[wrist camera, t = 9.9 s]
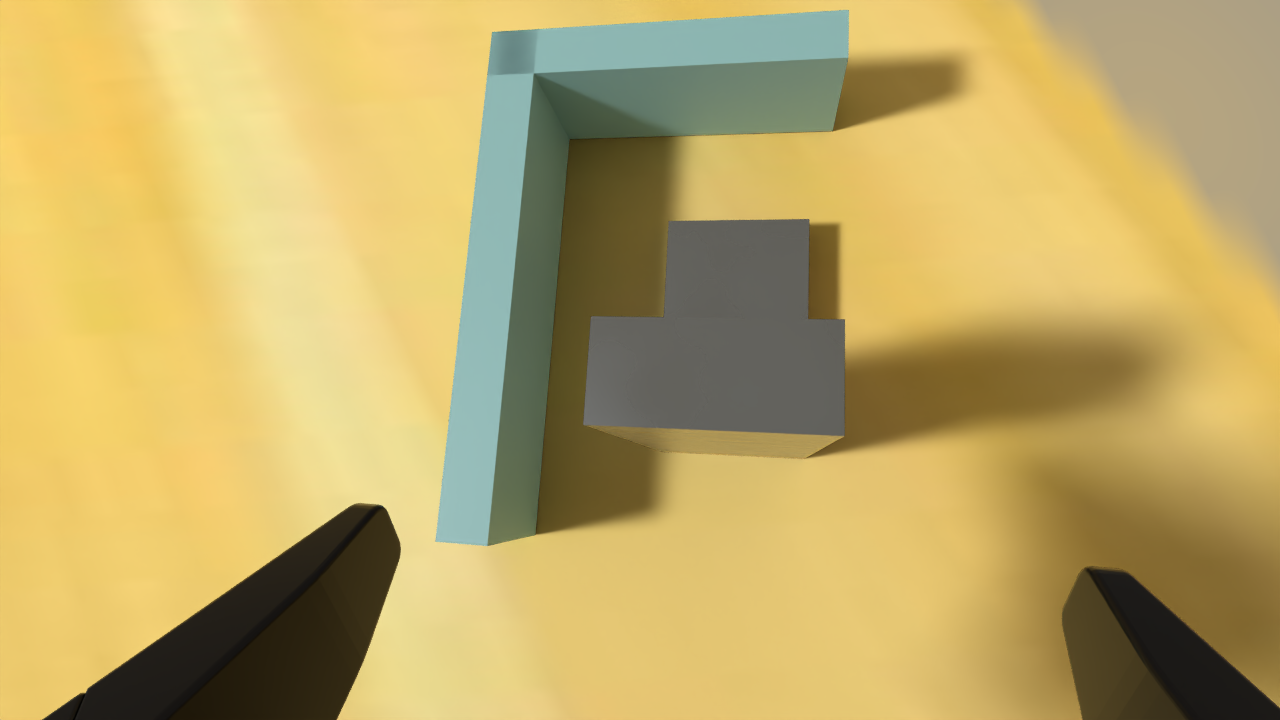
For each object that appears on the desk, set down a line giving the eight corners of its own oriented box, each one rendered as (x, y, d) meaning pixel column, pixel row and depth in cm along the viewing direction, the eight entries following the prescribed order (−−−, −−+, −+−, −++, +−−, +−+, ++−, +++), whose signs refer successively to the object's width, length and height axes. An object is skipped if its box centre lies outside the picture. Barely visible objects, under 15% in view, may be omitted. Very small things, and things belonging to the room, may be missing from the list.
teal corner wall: (827, 558, 20) (844, 575, 16) (492, 531, 22) (435, 541, 18) (833, 90, 23) (848, 9, 19) (533, 103, 25) (492, 31, 21)
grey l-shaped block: (804, 458, 21) (844, 436, 11) (661, 451, 22) (583, 424, 12) (807, 231, 22) (845, 32, 12) (672, 232, 23) (609, 47, 13)
